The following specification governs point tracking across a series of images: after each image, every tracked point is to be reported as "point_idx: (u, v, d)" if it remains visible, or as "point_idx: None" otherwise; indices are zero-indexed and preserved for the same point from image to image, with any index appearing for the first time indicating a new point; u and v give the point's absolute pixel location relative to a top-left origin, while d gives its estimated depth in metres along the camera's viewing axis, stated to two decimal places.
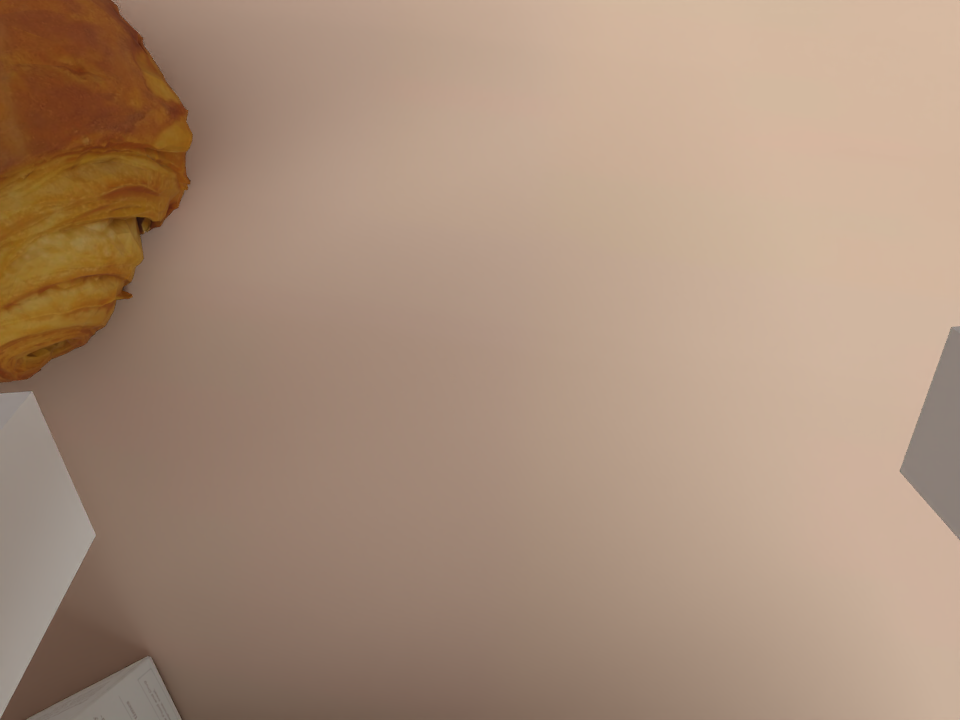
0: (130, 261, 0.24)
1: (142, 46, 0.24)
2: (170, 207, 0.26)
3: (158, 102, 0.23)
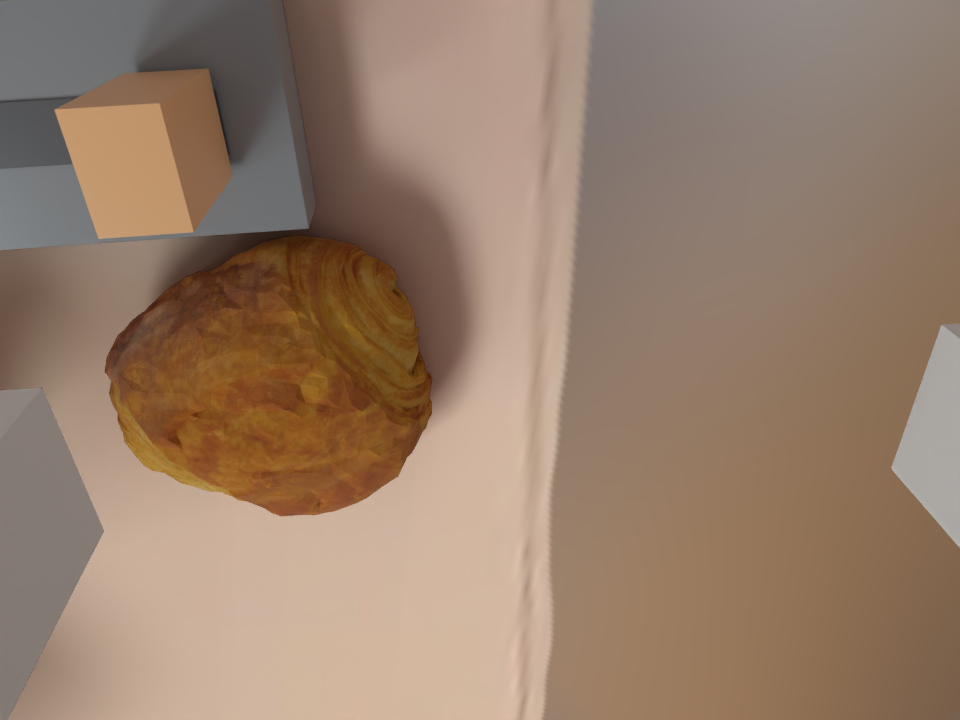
0: None
1: None
2: None
3: (317, 513, 0.38)
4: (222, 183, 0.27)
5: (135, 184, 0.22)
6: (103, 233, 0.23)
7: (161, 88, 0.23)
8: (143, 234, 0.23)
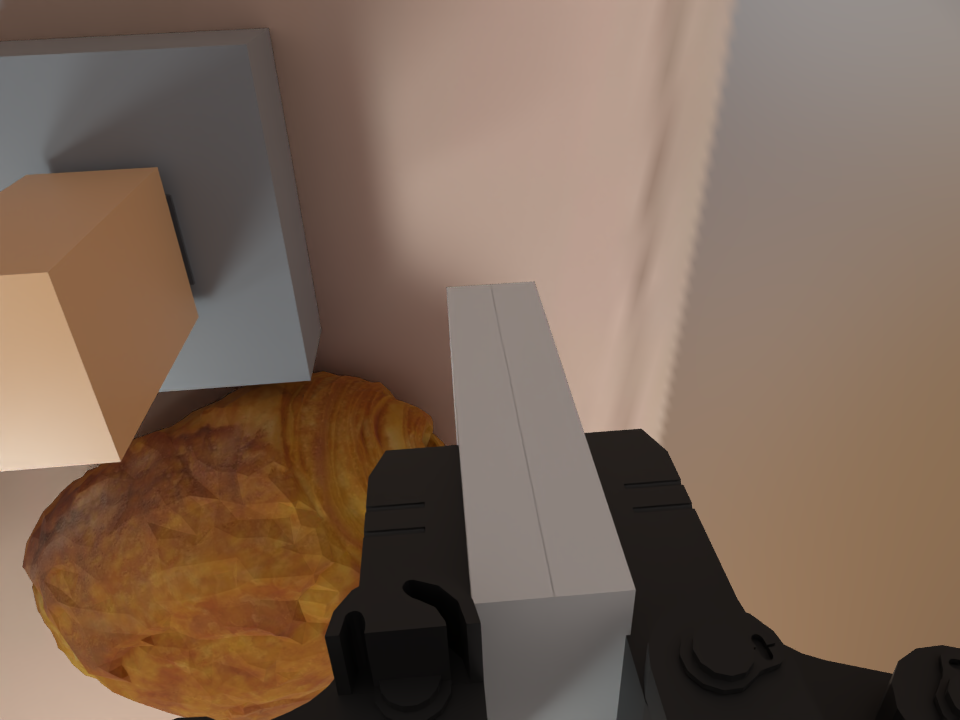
0: None
1: None
2: None
3: None
4: (179, 339, 0.17)
5: (16, 396, 0.13)
6: None
7: (67, 222, 0.14)
8: (37, 465, 0.14)
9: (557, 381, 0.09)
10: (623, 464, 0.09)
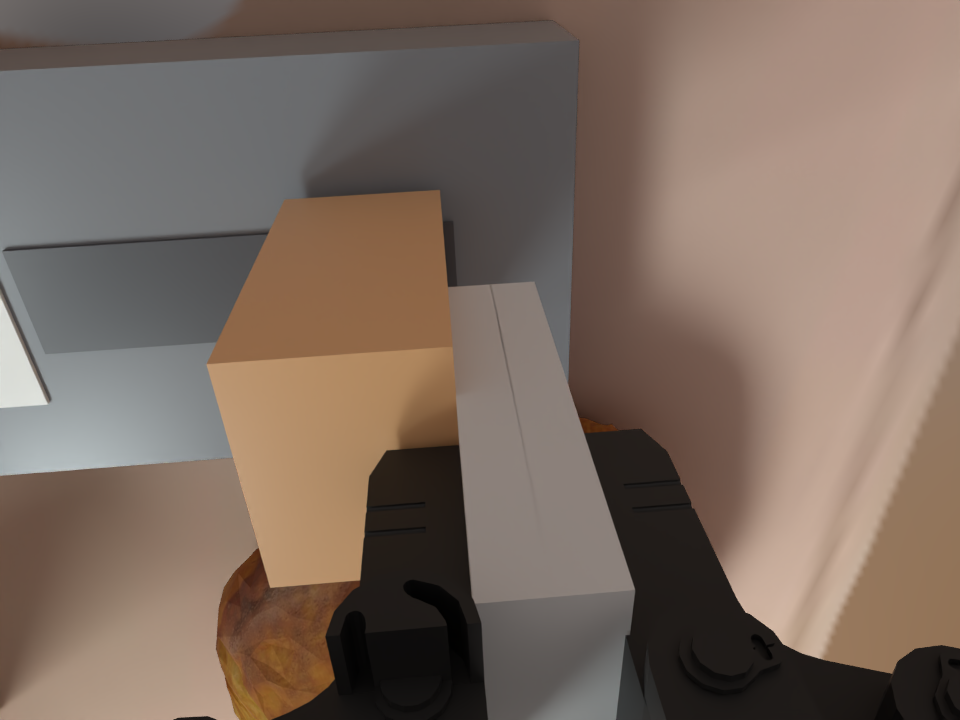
0: None
1: None
2: None
3: None
4: None
5: (365, 497, 0.10)
6: (282, 579, 0.11)
7: (404, 268, 0.11)
8: None
9: (557, 381, 0.09)
10: (623, 464, 0.09)
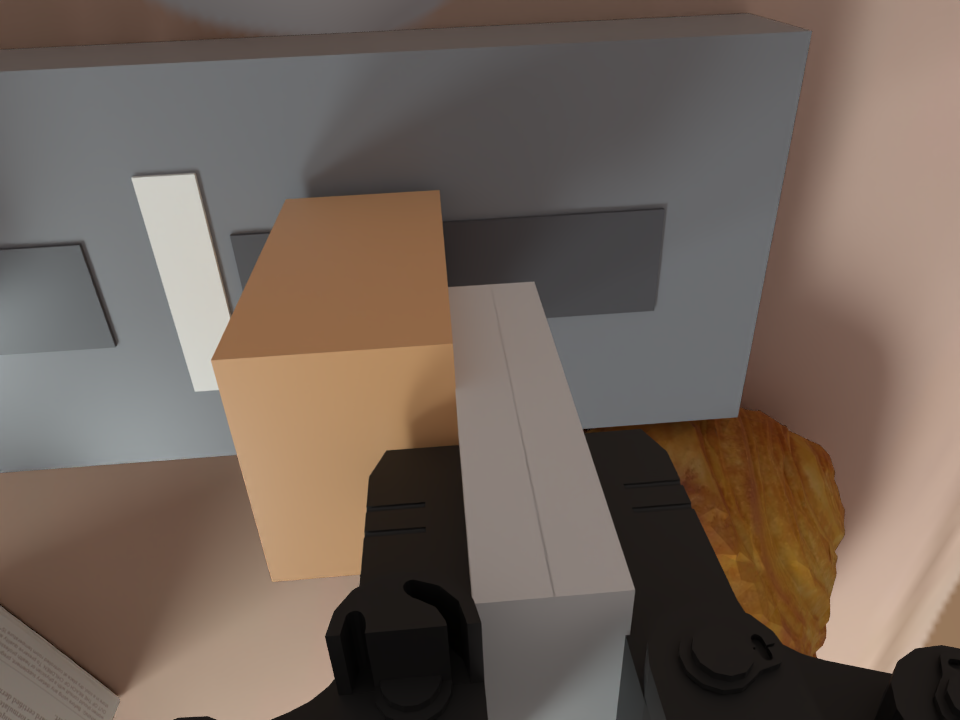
0: None
1: None
2: None
3: None
4: None
5: (365, 492, 0.10)
6: (283, 573, 0.11)
7: (404, 267, 0.11)
8: None
9: (557, 381, 0.09)
10: (623, 464, 0.09)
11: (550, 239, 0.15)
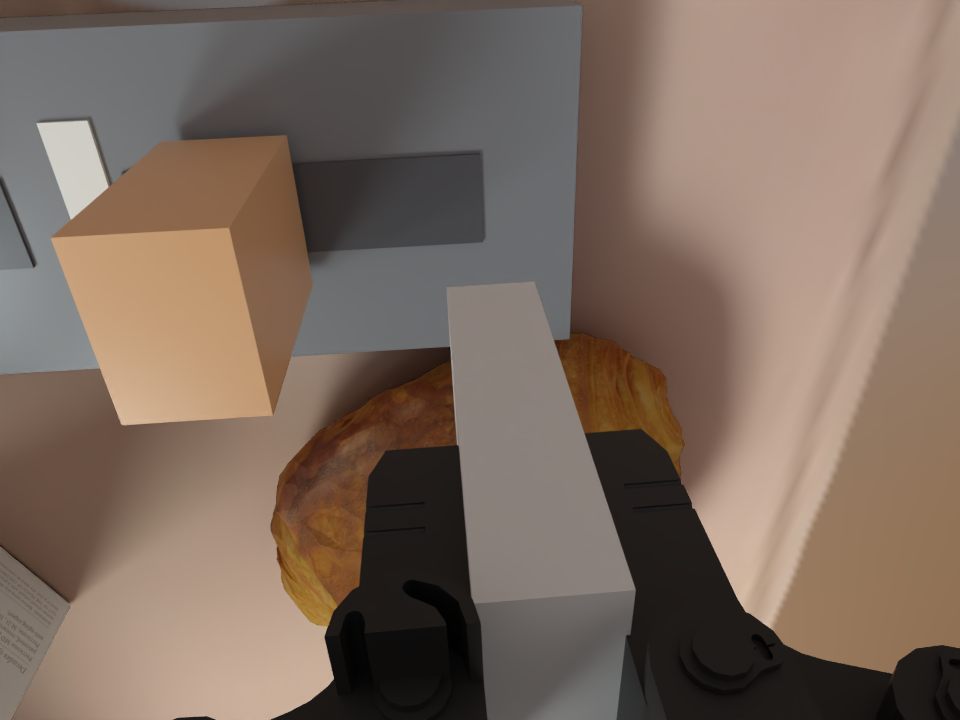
0: None
1: None
2: None
3: None
4: (302, 304, 0.18)
5: (182, 349, 0.13)
6: (129, 417, 0.14)
7: (224, 184, 0.14)
8: (193, 417, 0.14)
9: (557, 381, 0.09)
10: (623, 464, 0.09)
11: (388, 179, 0.18)
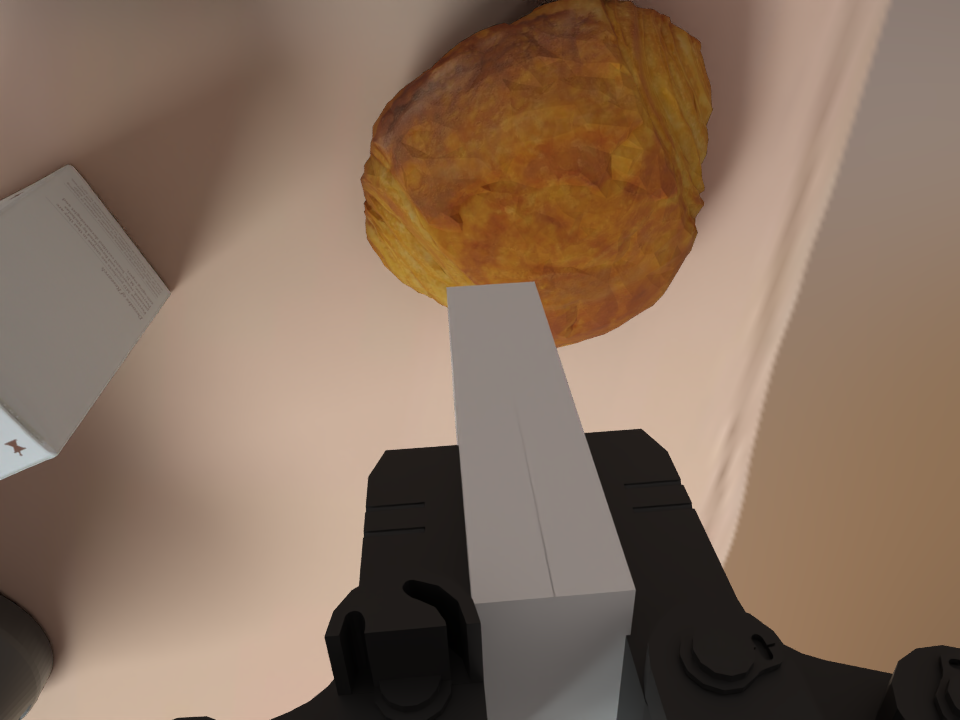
0: None
1: None
2: None
3: None
4: None
5: None
6: None
7: None
8: None
9: (557, 381, 0.09)
10: (623, 464, 0.09)
11: None
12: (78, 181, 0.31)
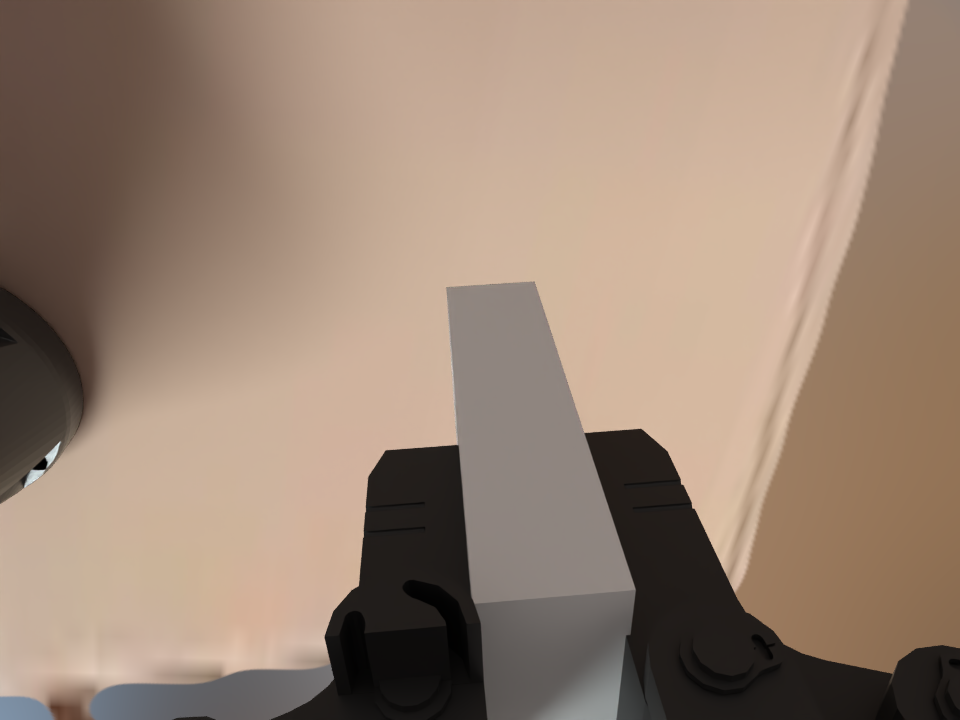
0: None
1: None
2: None
3: None
4: None
5: None
6: None
7: None
8: None
9: (557, 381, 0.09)
10: (623, 464, 0.09)
11: None
12: None
